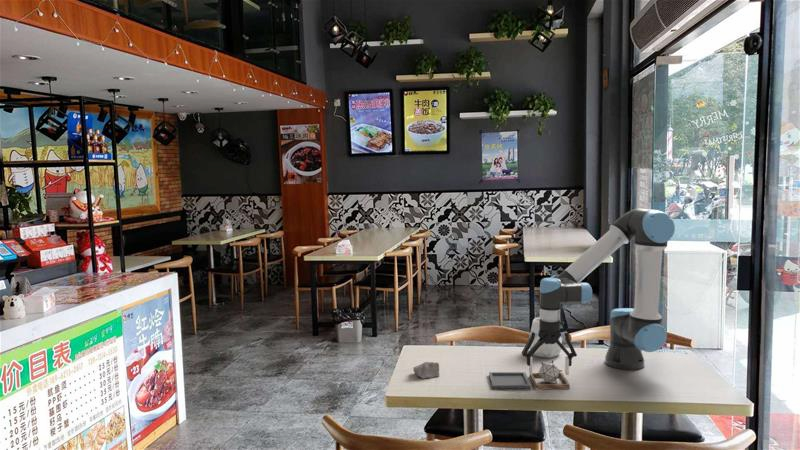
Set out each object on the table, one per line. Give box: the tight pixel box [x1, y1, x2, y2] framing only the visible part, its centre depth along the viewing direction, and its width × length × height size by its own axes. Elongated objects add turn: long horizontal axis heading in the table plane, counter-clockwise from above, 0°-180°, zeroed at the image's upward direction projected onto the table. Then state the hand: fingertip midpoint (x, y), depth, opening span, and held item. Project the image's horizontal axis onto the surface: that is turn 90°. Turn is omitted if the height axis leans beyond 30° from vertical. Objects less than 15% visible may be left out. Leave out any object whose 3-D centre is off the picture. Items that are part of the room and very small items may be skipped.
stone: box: [413, 361, 440, 380], centre depth 239 cm, size 10×8×6 cm
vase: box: [528, 316, 563, 359], centre depth 263 cm, size 14×14×15 cm
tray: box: [488, 371, 532, 390], centre depth 230 cm, size 14×14×2 cm
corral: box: [529, 372, 571, 390], centre depth 230 cm, size 13×13×2 cm
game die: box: [536, 360, 563, 384], centre depth 229 cm, size 9×8×10 cm
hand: (548, 374), depth 229 cm, fingers open, 13 cm apart
